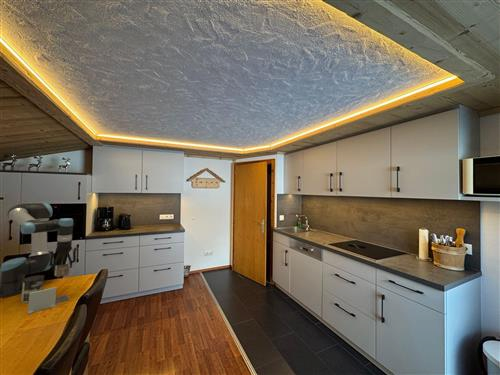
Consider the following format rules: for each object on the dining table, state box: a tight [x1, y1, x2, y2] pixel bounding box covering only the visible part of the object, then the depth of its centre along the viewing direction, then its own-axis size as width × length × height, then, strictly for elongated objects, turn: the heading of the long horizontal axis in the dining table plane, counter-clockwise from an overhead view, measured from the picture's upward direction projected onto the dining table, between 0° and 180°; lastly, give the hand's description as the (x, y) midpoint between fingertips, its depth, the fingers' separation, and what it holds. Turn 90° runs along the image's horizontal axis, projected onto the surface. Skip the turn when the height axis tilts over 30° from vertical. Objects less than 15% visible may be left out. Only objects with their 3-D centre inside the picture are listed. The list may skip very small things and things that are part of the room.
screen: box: [27, 286, 57, 315], centre depth 128 cm, size 5×12×12 cm, turn 138°
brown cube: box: [55, 263, 70, 278], centre depth 140 cm, size 6×6×6 cm
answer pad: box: [55, 294, 69, 304], centre depth 139 cm, size 8×8×1 cm
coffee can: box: [20, 274, 45, 303], centre depth 139 cm, size 10×10×14 cm
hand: (62, 273), depth 140 cm, fingers closed on brown cube, 6 cm apart
